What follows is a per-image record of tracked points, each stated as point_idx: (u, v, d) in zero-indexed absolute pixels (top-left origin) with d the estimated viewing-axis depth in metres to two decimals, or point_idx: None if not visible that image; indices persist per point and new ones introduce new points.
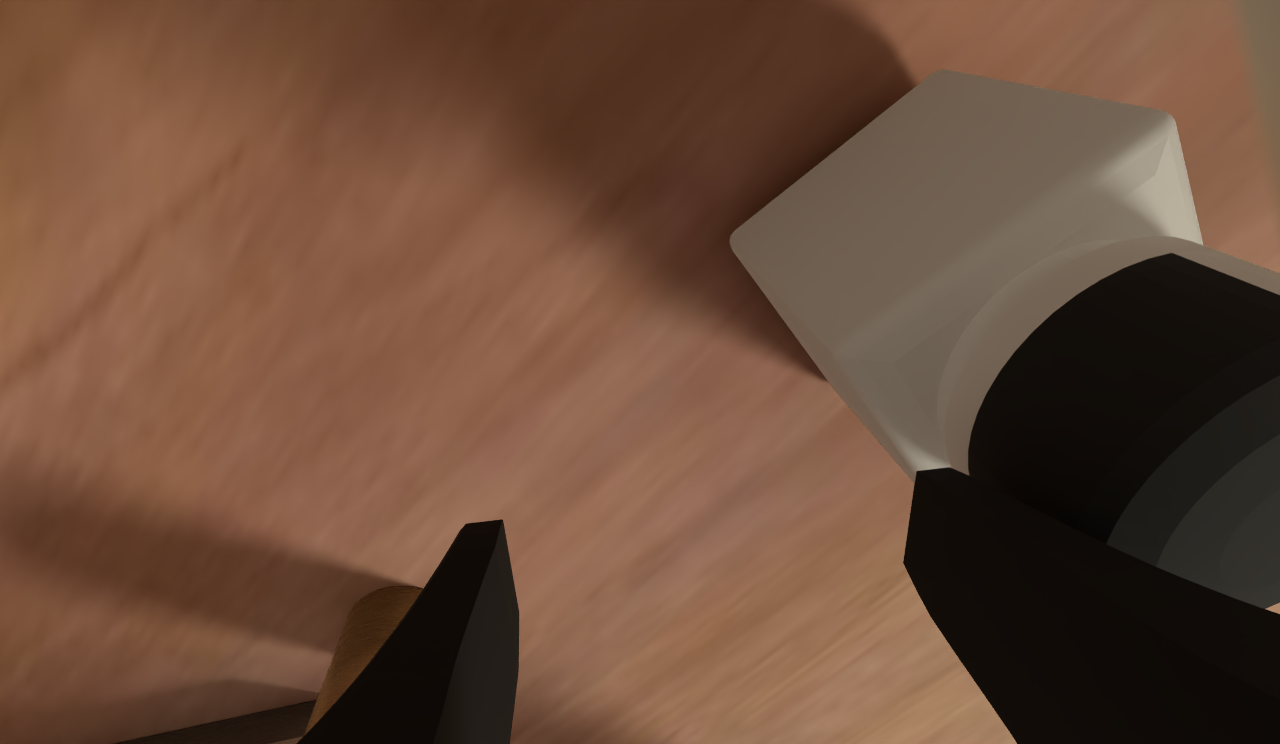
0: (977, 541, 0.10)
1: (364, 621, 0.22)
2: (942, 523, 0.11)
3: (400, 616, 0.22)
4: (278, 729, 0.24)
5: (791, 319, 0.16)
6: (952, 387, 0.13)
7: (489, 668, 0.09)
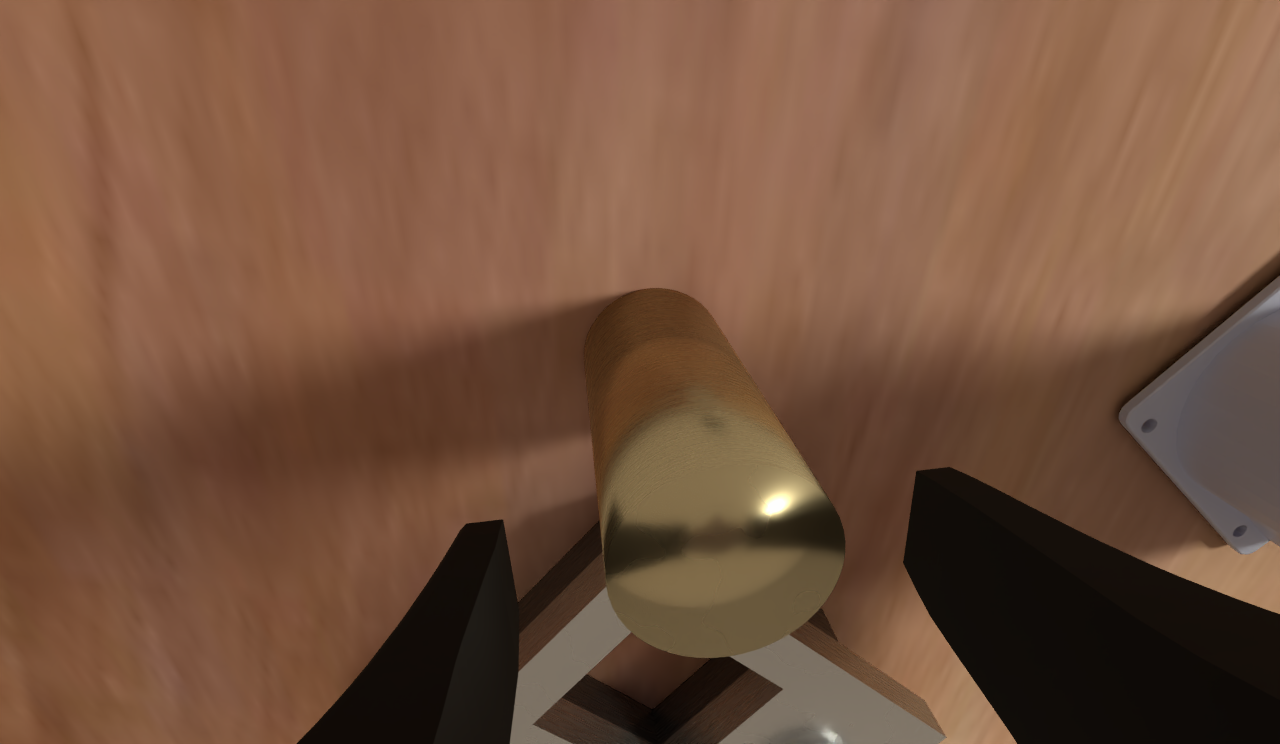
0: (977, 541, 0.10)
1: (595, 344, 0.17)
2: (942, 523, 0.11)
3: (627, 313, 0.17)
4: None
5: None
6: None
7: (489, 668, 0.09)
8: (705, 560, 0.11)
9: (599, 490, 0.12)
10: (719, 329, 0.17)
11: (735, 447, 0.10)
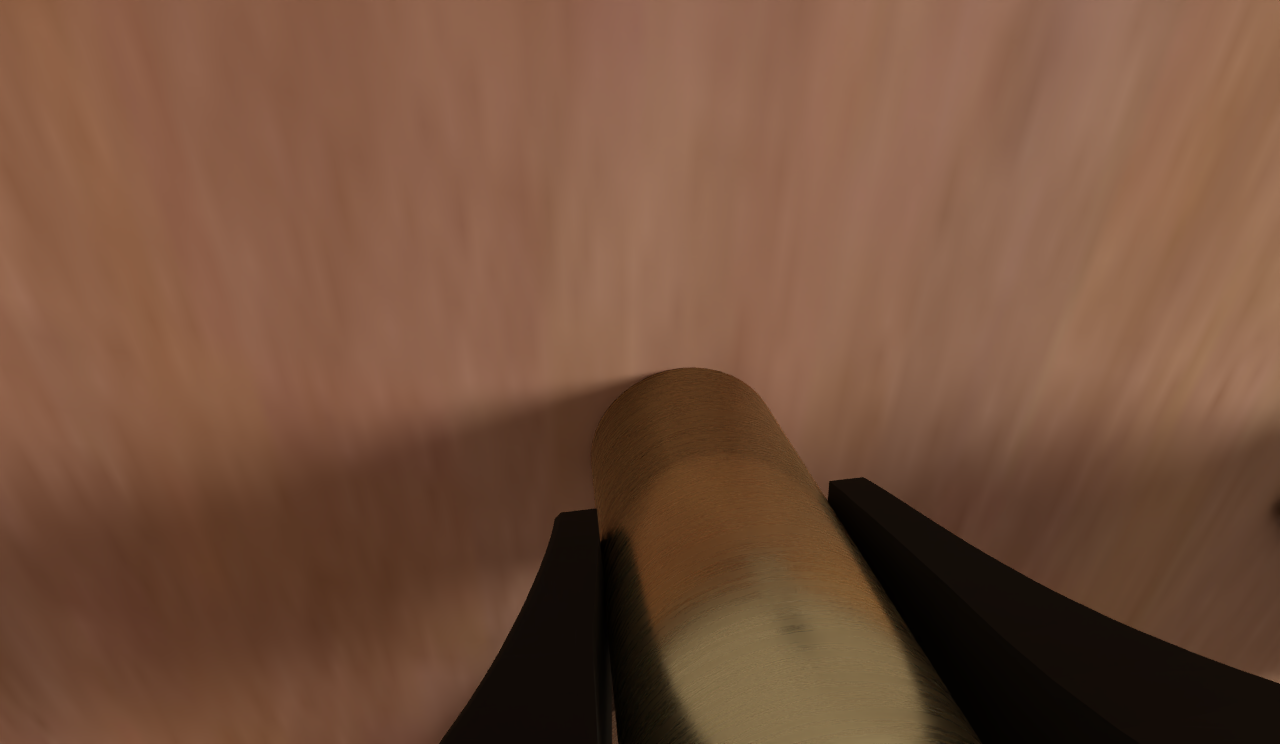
0: (877, 554, 0.10)
1: (608, 453, 0.12)
2: (850, 534, 0.10)
3: (654, 412, 0.12)
4: None
5: None
6: None
7: (602, 653, 0.09)
8: None
9: None
10: (782, 432, 0.12)
11: None
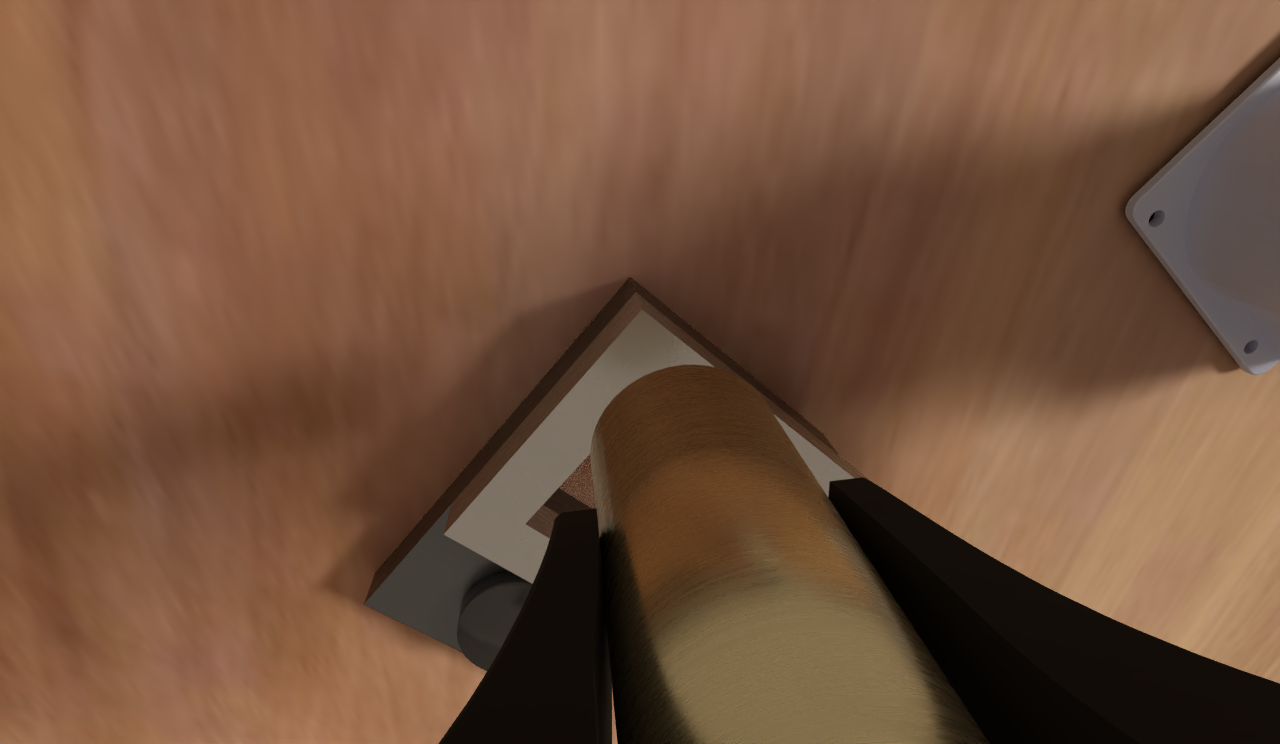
0: (877, 554, 0.10)
1: (606, 448, 0.12)
2: None
3: (653, 407, 0.12)
4: (596, 329, 0.20)
5: None
6: None
7: (601, 653, 0.09)
8: None
9: None
10: (781, 428, 0.12)
11: None
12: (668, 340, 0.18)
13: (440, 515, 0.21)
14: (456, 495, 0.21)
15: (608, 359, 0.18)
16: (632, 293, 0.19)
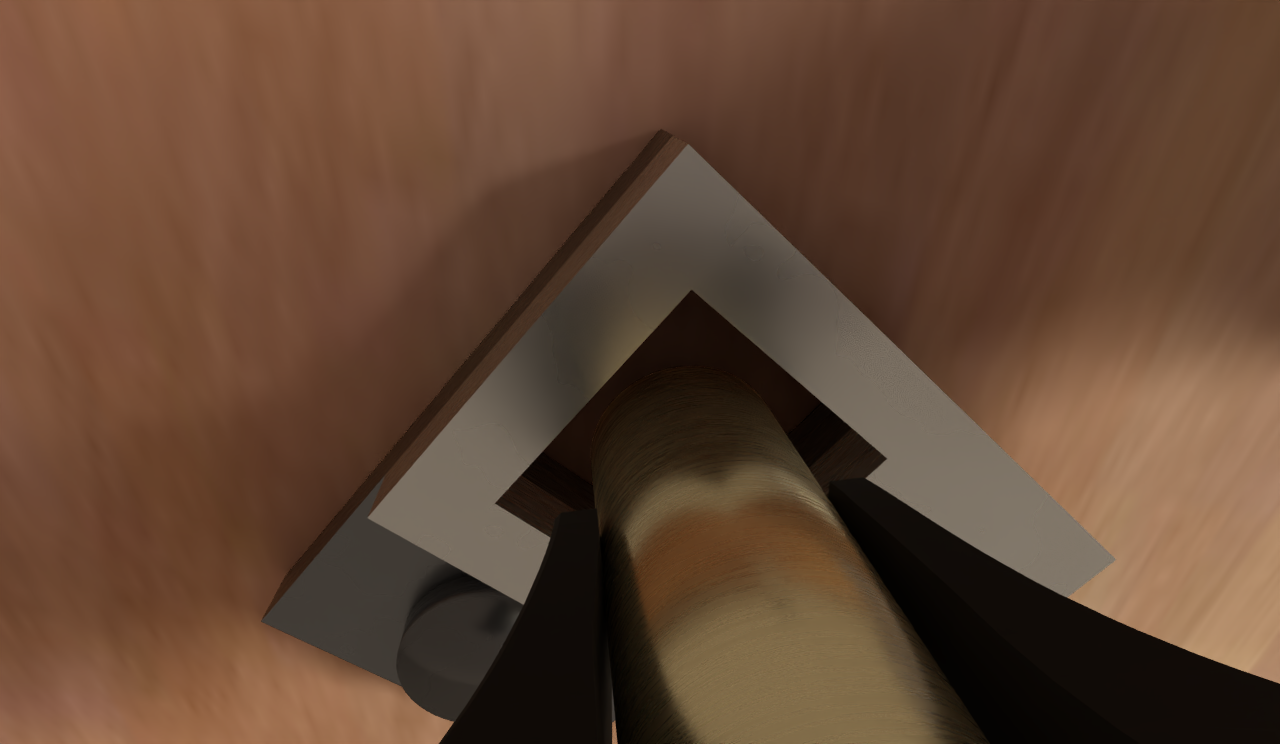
0: (877, 554, 0.10)
1: (607, 449, 0.12)
2: None
3: (653, 409, 0.12)
4: (608, 203, 0.13)
5: None
6: None
7: (602, 653, 0.09)
8: None
9: None
10: (781, 429, 0.12)
11: None
12: (728, 202, 0.11)
13: (370, 491, 0.14)
14: (394, 461, 0.14)
15: (629, 231, 0.11)
16: (667, 139, 0.12)
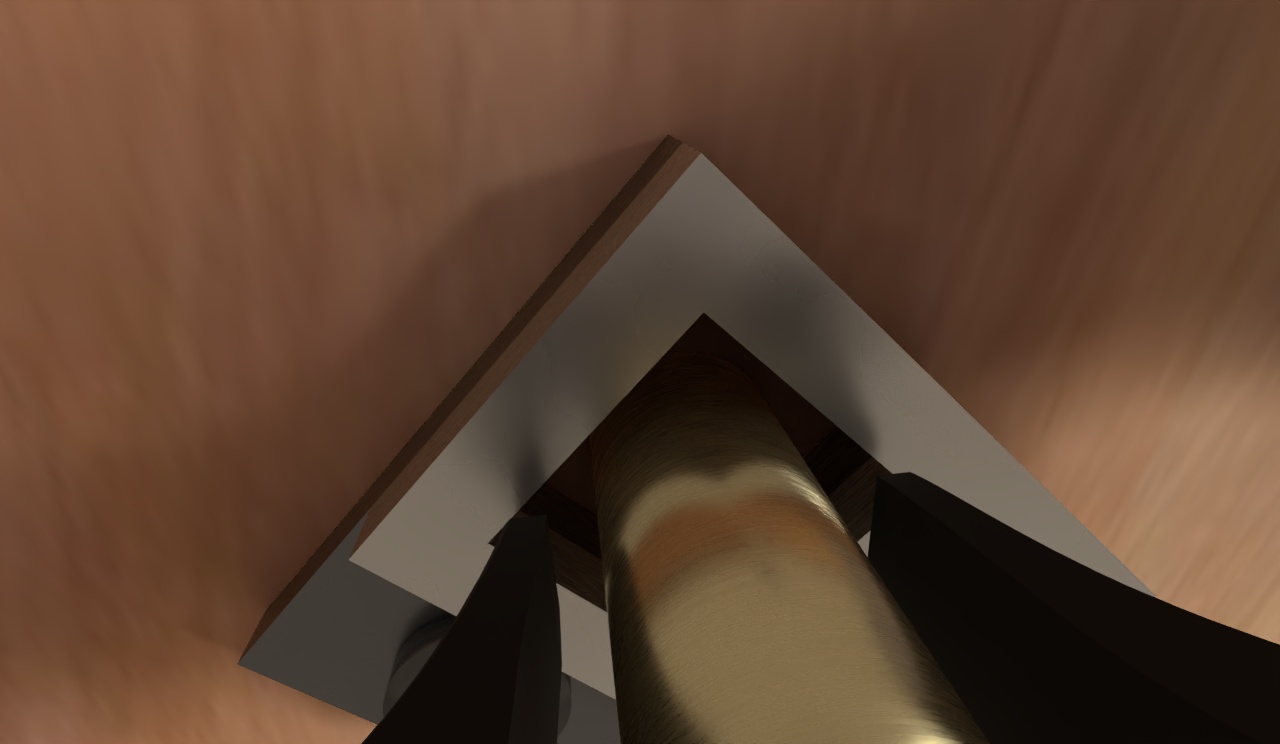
0: (932, 547, 0.10)
1: (605, 429, 0.13)
2: (900, 528, 0.11)
3: (649, 390, 0.13)
4: (611, 216, 0.12)
5: None
6: None
7: (542, 661, 0.09)
8: None
9: (620, 701, 0.08)
10: (770, 410, 0.13)
11: (856, 690, 0.06)
12: (745, 217, 0.10)
13: (354, 526, 0.13)
14: (380, 494, 0.13)
15: (635, 249, 0.10)
16: (676, 147, 0.11)
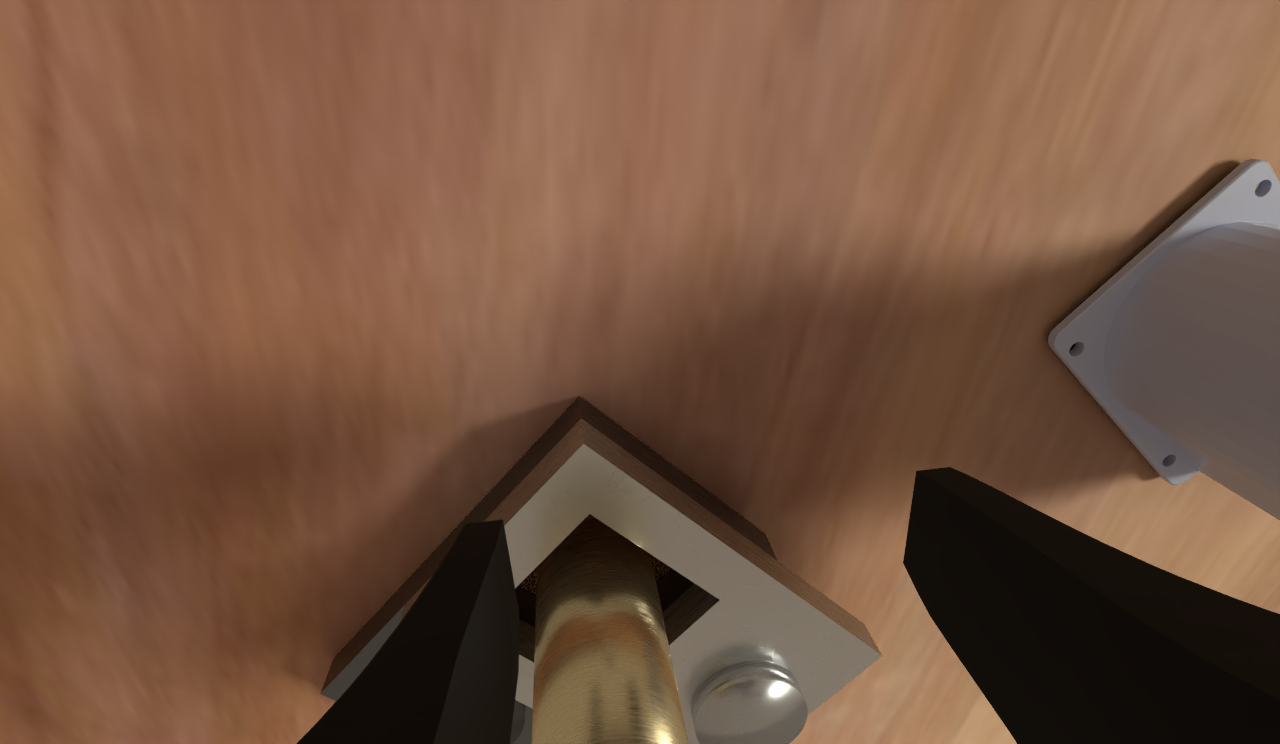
0: (977, 541, 0.10)
1: None
2: (942, 523, 0.11)
3: (568, 539, 0.22)
4: (545, 447, 0.21)
5: None
6: None
7: (489, 668, 0.09)
8: None
9: (532, 724, 0.17)
10: (640, 549, 0.22)
11: (619, 724, 0.15)
12: (608, 470, 0.19)
13: (394, 613, 0.22)
14: (410, 595, 0.22)
15: (551, 486, 0.19)
16: (578, 418, 0.20)
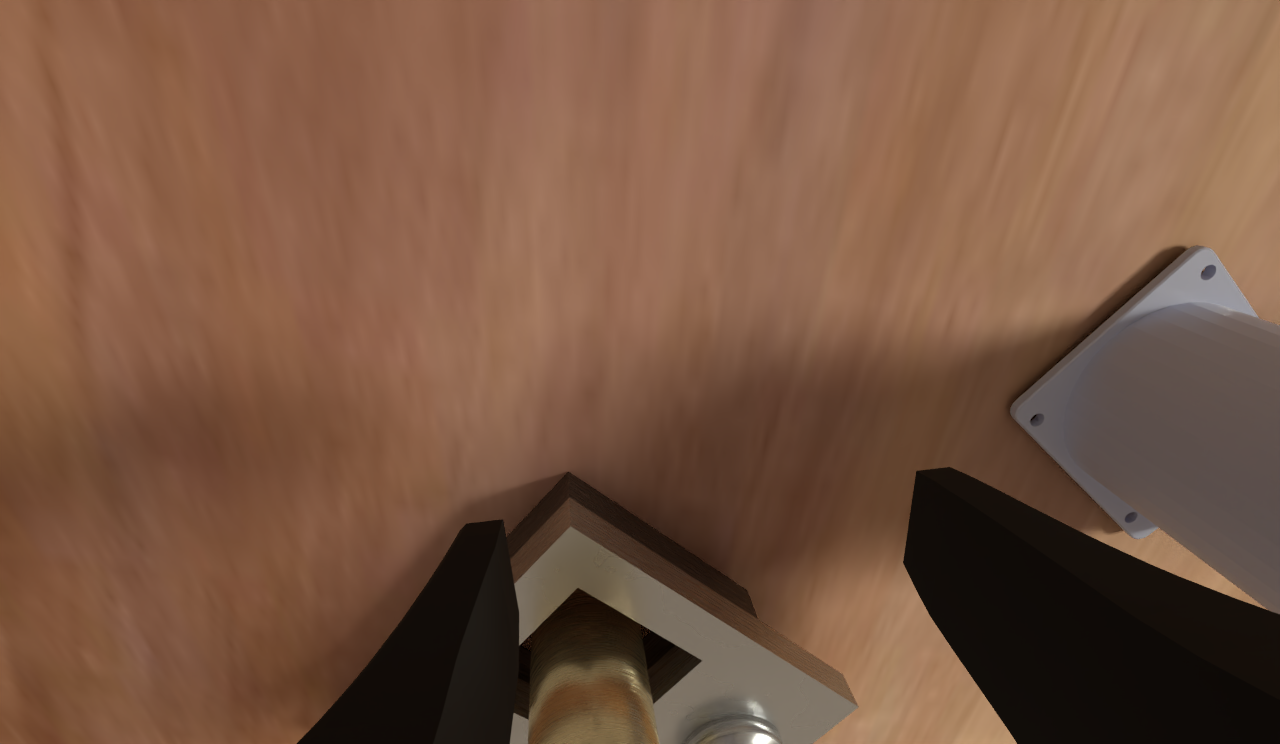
0: (977, 541, 0.10)
1: None
2: (942, 523, 0.11)
3: None
4: (536, 521, 0.22)
5: None
6: None
7: (489, 668, 0.09)
8: None
9: None
10: None
11: None
12: (594, 548, 0.20)
13: None
14: None
15: (541, 564, 0.20)
16: (567, 496, 0.21)
